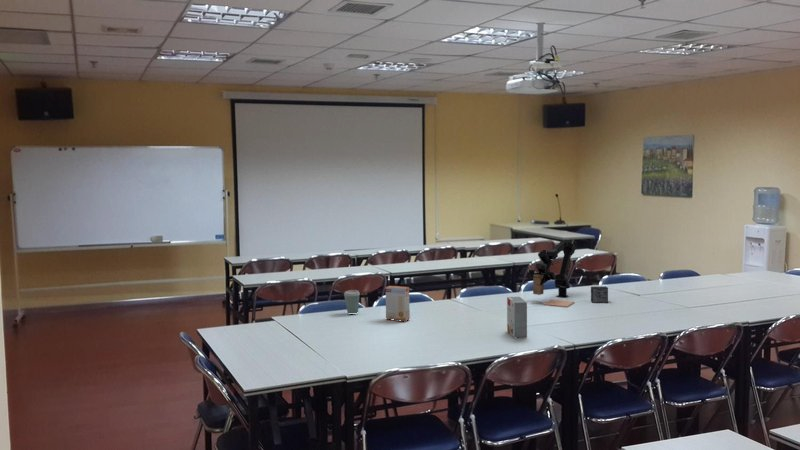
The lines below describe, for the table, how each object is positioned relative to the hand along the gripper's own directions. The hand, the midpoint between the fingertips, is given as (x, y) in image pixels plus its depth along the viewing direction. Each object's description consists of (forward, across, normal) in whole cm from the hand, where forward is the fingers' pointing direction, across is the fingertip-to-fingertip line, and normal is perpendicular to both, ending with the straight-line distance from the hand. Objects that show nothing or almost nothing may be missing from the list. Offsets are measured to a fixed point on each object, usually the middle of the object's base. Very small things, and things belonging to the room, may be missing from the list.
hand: (537, 284), depth 440 cm
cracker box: (+76, -40, -58) cm, 104 cm away
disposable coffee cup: (+81, -75, -63) cm, 127 cm away
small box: (-13, +29, +32) cm, 45 cm away
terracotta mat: (+4, +12, +15) cm, 20 cm away
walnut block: (+4, 0, +6) cm, 7 cm away
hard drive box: (+64, +34, -45) cm, 85 cm away
